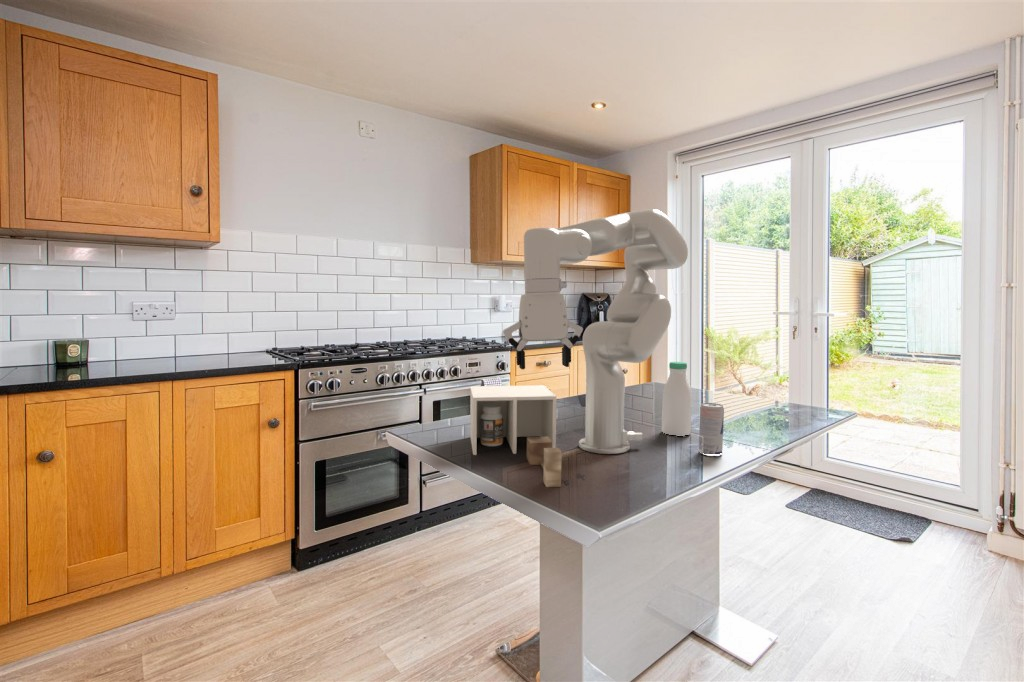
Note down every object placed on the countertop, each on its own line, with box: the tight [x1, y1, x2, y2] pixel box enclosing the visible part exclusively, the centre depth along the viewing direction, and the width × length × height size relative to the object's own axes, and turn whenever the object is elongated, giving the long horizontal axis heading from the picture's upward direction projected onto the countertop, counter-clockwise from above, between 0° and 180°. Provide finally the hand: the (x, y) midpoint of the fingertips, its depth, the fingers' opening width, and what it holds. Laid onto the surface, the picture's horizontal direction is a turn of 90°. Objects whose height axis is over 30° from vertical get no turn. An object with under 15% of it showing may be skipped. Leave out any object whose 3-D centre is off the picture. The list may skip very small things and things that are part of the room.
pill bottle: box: [480, 404, 504, 447], centre depth 132 cm, size 6×6×10 cm
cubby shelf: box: [469, 384, 557, 456], centre depth 131 cm, size 20×16×14 cm
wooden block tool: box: [526, 436, 563, 488], centre depth 111 cm, size 5×19×7 cm, turn 7°
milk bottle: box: [661, 361, 693, 436], centre depth 143 cm, size 8×8×20 cm
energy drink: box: [698, 402, 725, 454], centre depth 124 cm, size 5×5×12 cm
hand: (544, 367), depth 111 cm, fingers open, 9 cm apart
